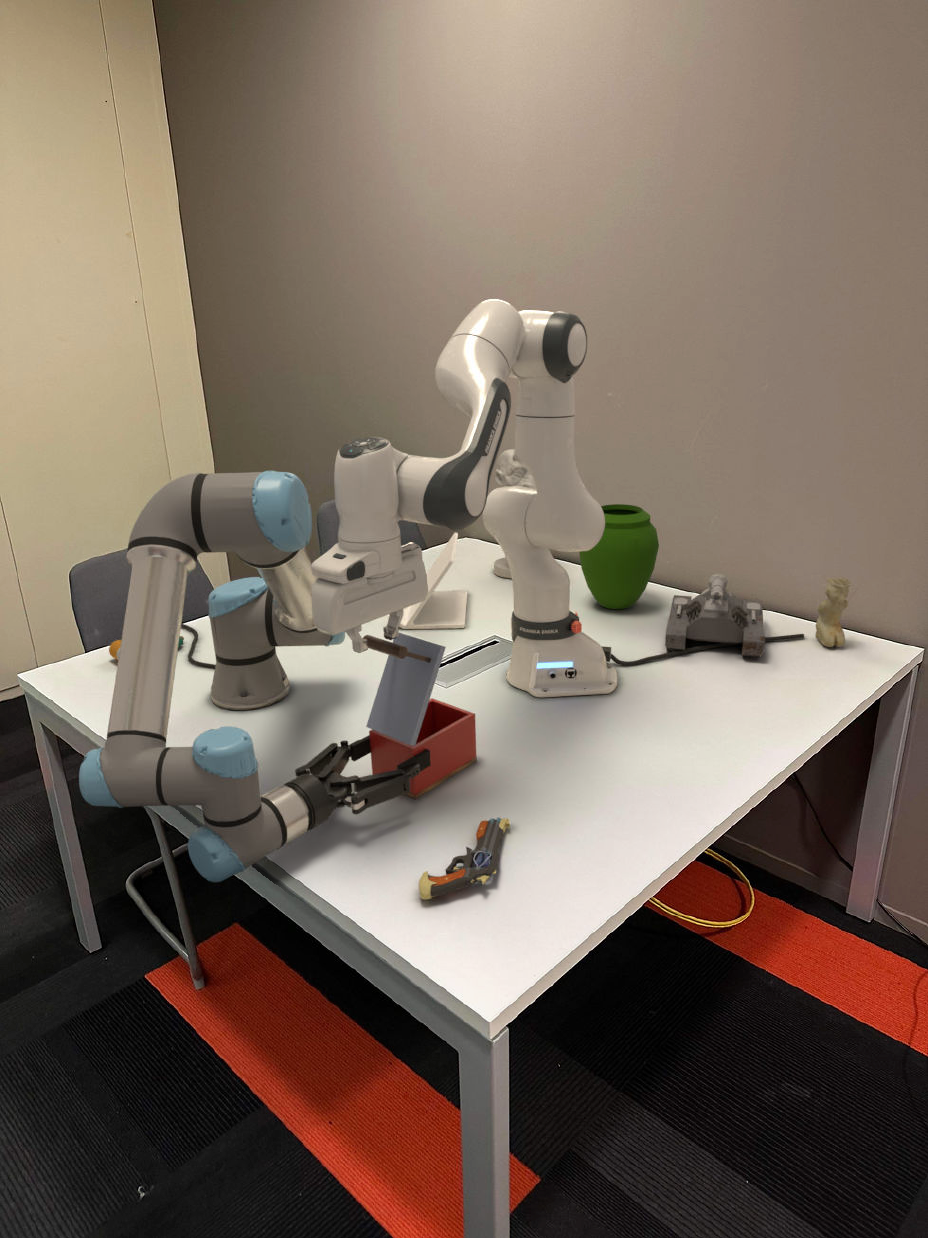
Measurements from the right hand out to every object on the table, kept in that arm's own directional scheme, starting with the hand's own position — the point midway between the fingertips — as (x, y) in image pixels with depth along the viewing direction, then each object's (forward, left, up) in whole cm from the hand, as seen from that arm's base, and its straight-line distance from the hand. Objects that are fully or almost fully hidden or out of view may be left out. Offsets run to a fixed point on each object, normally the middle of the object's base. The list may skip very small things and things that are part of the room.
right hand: (376, 644), depth 127 cm
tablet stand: (+6, -84, -26) cm, 88 cm away
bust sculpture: (-16, -114, -26) cm, 117 cm away
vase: (-40, -90, -26) cm, 102 cm away
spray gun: (+65, -52, -26) cm, 87 cm away
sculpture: (-85, -67, -26) cm, 111 cm away
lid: (-3, -5, -9) cm, 11 cm away
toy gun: (-15, +17, -26) cm, 34 cm away
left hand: (-3, -4, -19) cm, 20 cm away
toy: (-61, -69, -26) cm, 96 cm away
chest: (-5, -8, -26) cm, 27 cm away
